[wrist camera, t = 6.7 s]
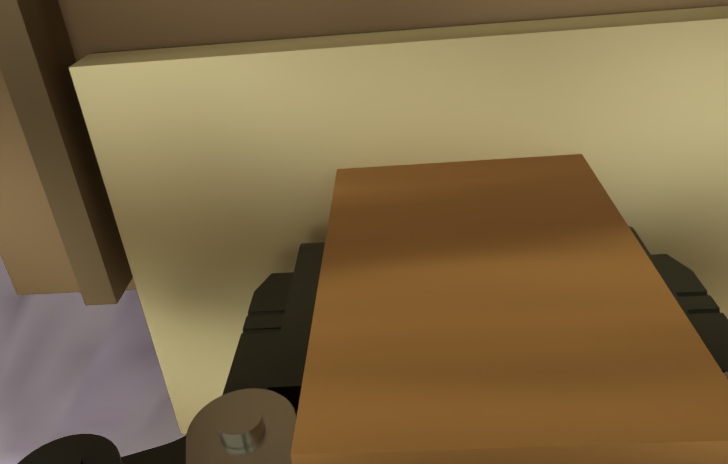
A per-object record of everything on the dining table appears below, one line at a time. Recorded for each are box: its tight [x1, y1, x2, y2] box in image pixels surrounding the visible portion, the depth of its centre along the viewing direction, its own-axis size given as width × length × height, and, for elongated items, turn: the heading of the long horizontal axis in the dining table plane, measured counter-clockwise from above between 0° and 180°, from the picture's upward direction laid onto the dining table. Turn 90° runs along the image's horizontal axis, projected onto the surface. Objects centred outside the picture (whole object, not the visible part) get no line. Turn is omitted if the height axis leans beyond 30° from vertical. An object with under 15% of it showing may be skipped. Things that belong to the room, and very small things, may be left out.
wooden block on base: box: [69, 6, 728, 464], centre depth 10 cm, size 8×12×7 cm, turn 95°
